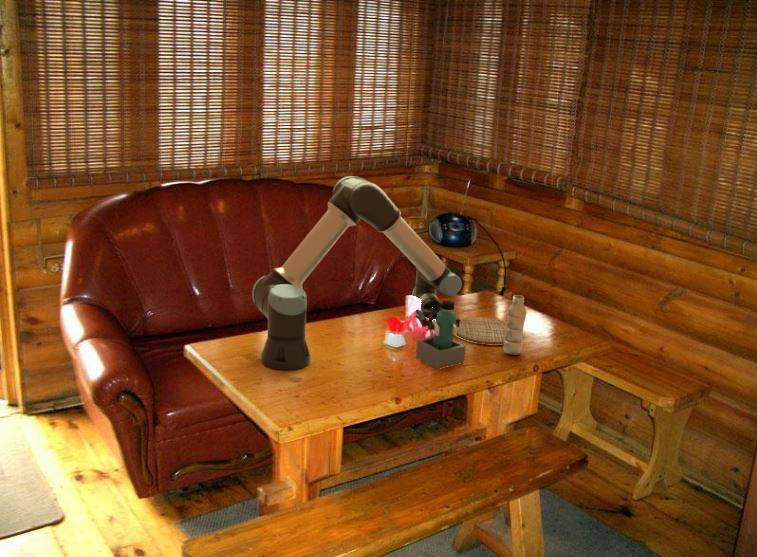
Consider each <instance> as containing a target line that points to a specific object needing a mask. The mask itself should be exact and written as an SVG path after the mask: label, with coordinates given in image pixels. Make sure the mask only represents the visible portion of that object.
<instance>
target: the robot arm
mask: <svg viewBox="0 0 757 557" xmlns="http://www.w3.org/2000/svg"><path fill="white" fill-rule="evenodd" d="M401 213H402V212H401V210H400V209H399V208H398V207H397V206H396V204H395V203H394V202H393V201H392V199H391V198H390V197H389V196H388V195H387V193H386V192H385V191H384V190H383V189H382V188H381V187H380V186H378V185H377V184H375V183H373V182H370V181H368V180H366V179H364V178H363V177H360V176H354V175H348V176H344V177H342V178H341V179H339V180H338V181H337V182H336V184H335V185H334V187H333V190H332V197H331V198H330V199H329V201H328V202H327V211H326V212H325V213H324V214H323V215H322V216H321V218H320V219H319V221H318V222H317V223H316V224H315V225H314V226H313V228H312V229H311V230H310V231H309V233H308V234H307V235H306V236H305V238H304V239H302V241H301V242H300V243H299V244H298V246H297V247H296V248H295V250H294V251H293V252H292V254H290V256H289V257H288V258H287V260H286V261H285V262H284V263H283V264H282V266H280V267H274V268H273V269H272V270H271V271H270V273H269V274H267V275H262V276H261V277H260V278H258V279H257V280H256V281H255V283H254V284H253V286H252V290H251V296H252V301H253V304H254V305H255V307H256V309H257V310H258V311H260V312H261V313H262V315H264V317H265V318H267V338H266V341H265V343H264V347H263V349H262V352H261V362H260V363H262V365H264V366H265V367H267V368H269V367H270V368H269V369H272V368H273V369H274V370H277V369H278V370H279V371H294V370H295V371H296V370H300V369H303V368H305V367H308V366H309V364H310V362H311V353H310V350H309V347H308V342H307V340H306V327H307V326H306V325H307V308H308V300H307V293H306V291H305V290H304V289H303V283H305V281H306V280H307V279H308V277H309V276H310V275H311V273H312V272H313V271H314V270H315V269H316V267H317V266H318V264H319V263H321V261H322V260H323V258H325V256H326V255H327V254H328V252H329V251H330V250H331V249H332V247H334V245H335V244H336V243H337V241H338V240H339V238H340V237H341V236H342V235H344V233H345V232H346V230H347V229H348V228H349V227H354V226H356V225H357V224H358V223H359V222H360V220H361V219H362V220H363V221H365V222H366V223H367V224H369V226H372V227H373V229H375V230H376V231H377V232H378V233H383V234H384V235H385V236H386V237H387V238H388V239H389V240H390V242H391V243H393V244H394V245H395V247H396V248H397V249H398V250H400V252H402V254H403V255H404V256H405V257H406V258H407V259H408V260H409V261H410V262H411V263H412V265H414V267H415V268H416V272H415V273H416V276H415V285H414V288H413V290H412V294H411V296H416V297H418V298H420V299H422V300H421V301H422V302H421V303H422V304H421V311H420V310H419V309H415V315H414V317H415V318H416V319H417V320H418V322H419V323H420V325H421V327H422V328H425V327H427V330H429V331H433V333H434V332H435V334H436V336H439V326H438V324H437V323H436V321H435V320H433V319H437V313H438V312H439V311H441V310H445V309H442V308H441V305H442V302H441V300H440V298H439V297H438V296H437V291H438V292H440V293H441V294H442V295H445V296H447V297H453V296H455V295H457V294H458V293H459V292H460V290H461V288H462V280H461V278H460V277H459V275H457V274H456V273H454V272H452V271H451V270H450V269H449V268H448V267H447V265H445V263H444V262H443V260H441V259H440V258H439V256H438V255H436V253H435V252H434V251H433V250H432V248H430V247H429V245H427V244H426V242H425V241H424V240H423V239H422V238H421V237H420V236H419V234H417V232H415V230H414V229H413V228H412V227H411V225H409V224H408V223H407V221H405V219H404V218H403V217H402V216H401ZM432 307H433V308H432ZM451 311H452V312H453V313H454V314H455V315H456V320H455V324H453V327H452V333H453V337H456V334H457V327H459V326H460V319H461V318H459V316H458V315H457V313H456V310H455V309H454V310H451ZM425 317H427V318H429V320H427V319H426V318H425ZM432 320H433V321H432Z"/></svg>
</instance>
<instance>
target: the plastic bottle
mask: <svg viewBox="0 0 757 557" xmlns="http://www.w3.org/2000/svg"><path fill="white" fill-rule="evenodd" d="M524 300H525V297H524V296H523V295H519V294H517V295H515V294H514V295H513V296H512V301H511V302H512V303H511V304H510V306H509V307H508V309H507V311H506V313H507V314H506V316H507V318H506V322H507V332H506V337H505V340H504V344H503V345H502V350H503V351H504V353H505V354H506V355H510V356H512V355H513V356H517V355H520V354H521V353H522V350H523V348H524V347H523V332H524V331H523V330H524V325H525V321H526V319H527V309H526V307H525V305H524V302H525V301H524Z"/></svg>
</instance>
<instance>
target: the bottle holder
mask: <svg viewBox="0 0 757 557" xmlns="http://www.w3.org/2000/svg"><path fill="white" fill-rule="evenodd" d="M433 337H434V336H432V337H427V338H424V339H418V340H417V341H416V355H415V358H416V359H417V358H419V359H421V360H422V361H421V360H420V361H421V362H423V361H424V362H423V363H425V362H426V363H425V364H427V363H428V364H429V365H428V364H427V365H428V366H430V365H431V366H430V367H432V366H433V368H434V367H435V368H434V369H436V368H437V369H436V370H438V369H439V370H441V369H440V368H443V367H446V366H451V365H455V364H459V363H463V362H464V363H465V358H466V357H465V356H466V345H464V344H462V343H461V342H459V341H457V340H454V339H453V341H452V348H448V349H444V350H438V349H436V348H434V347H432V346H433V344H432V343H433V339H434V338H433ZM419 359H418V360H419ZM464 363H463V364H464ZM459 365H460V364H459ZM455 366H456V365H455ZM451 367H452V366H451ZM443 369H444V368H443Z"/></svg>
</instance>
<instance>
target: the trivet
mask: <svg viewBox="0 0 757 557" xmlns="http://www.w3.org/2000/svg"><path fill="white" fill-rule="evenodd" d="M459 319H460V326H459V327H457V334H456V335H457V336H459V337H461V338H463V339H466V340H469V341H473V342H477V343H485V344H504V340H505V337H506V332H507V321H505V320H501V319H497V318H491V317H483V316H482V317H481V316H479V317H478V316H473V317H471V316H470V317H469V316H468V317H462V318H459Z"/></svg>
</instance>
